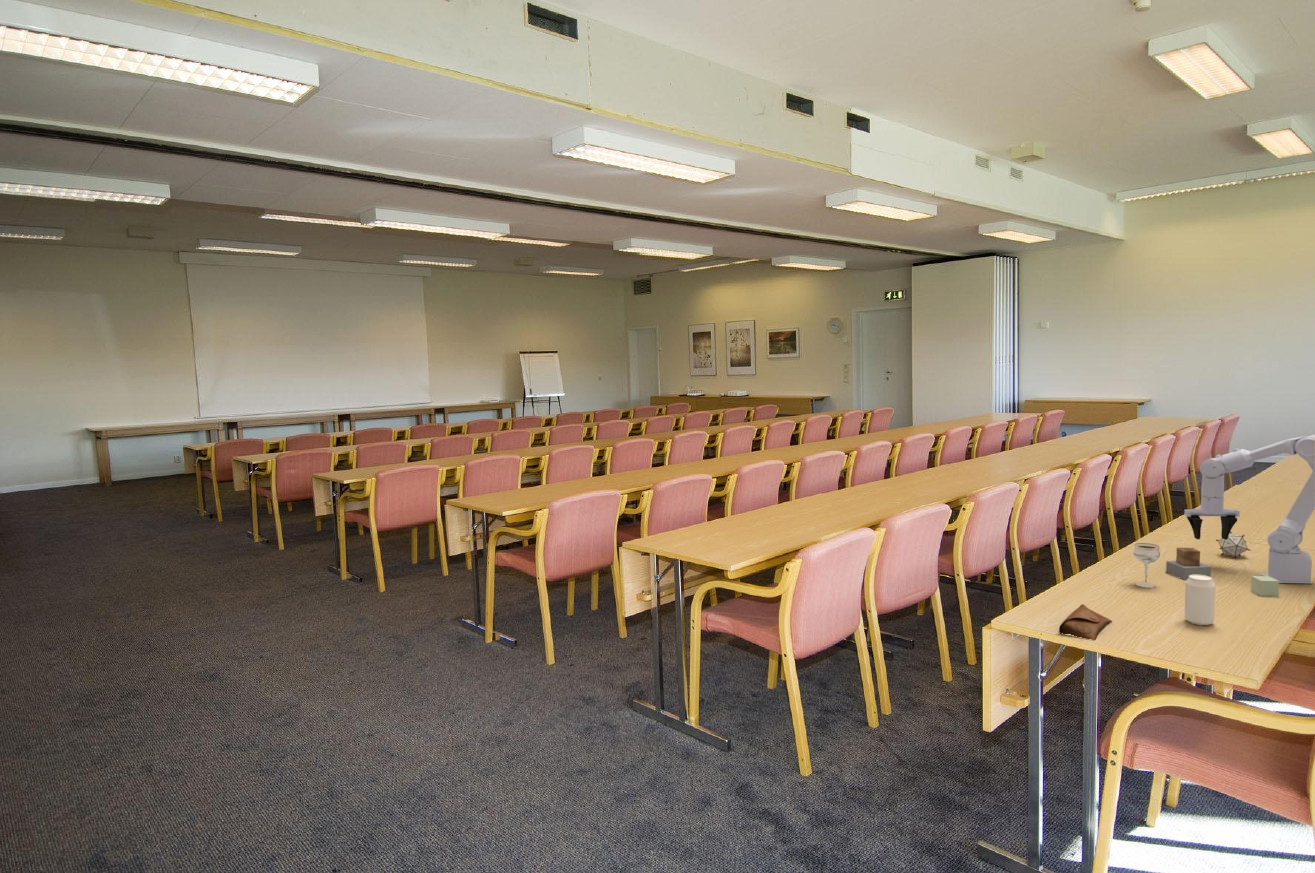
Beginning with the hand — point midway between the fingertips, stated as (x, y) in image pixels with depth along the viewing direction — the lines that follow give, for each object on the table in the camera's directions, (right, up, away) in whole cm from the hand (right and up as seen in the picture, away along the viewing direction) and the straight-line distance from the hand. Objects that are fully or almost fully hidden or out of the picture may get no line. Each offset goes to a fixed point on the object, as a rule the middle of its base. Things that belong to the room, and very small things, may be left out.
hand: (1210, 538), depth 239 cm
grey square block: (-11, -11, -6) cm, 17 cm away
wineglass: (-29, -12, -13) cm, 34 cm away
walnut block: (-12, -7, -6) cm, 15 cm away
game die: (+16, -8, +12) cm, 21 cm away
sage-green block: (-3, -12, -25) cm, 28 cm away
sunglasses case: (-64, -17, -44) cm, 80 cm away
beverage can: (-35, -16, -44) cm, 59 cm away
